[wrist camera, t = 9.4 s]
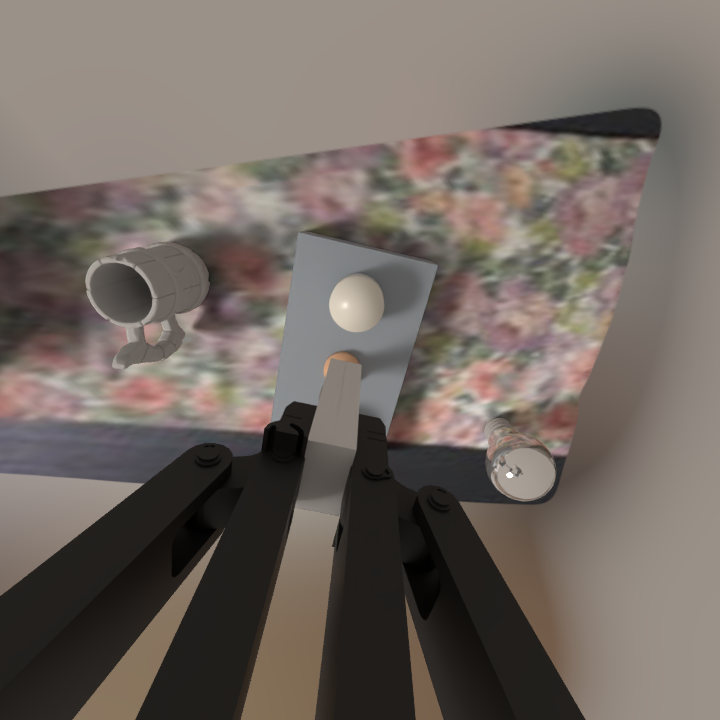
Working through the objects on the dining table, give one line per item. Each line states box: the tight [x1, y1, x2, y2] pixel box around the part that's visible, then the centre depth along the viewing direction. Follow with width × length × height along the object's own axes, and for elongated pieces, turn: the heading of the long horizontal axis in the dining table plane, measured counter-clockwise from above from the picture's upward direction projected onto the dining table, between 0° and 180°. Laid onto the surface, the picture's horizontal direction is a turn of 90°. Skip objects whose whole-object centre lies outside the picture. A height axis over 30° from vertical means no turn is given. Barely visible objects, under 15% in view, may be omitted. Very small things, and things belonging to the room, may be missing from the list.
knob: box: [329, 273, 384, 332], centre depth 36 cm, size 5×5×7 cm
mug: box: [86, 242, 210, 369], centre depth 34 cm, size 8×12×12 cm, turn 176°
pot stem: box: [319, 351, 360, 398], centre depth 35 cm, size 4×4×7 cm
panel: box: [271, 231, 438, 437], centre depth 40 cm, size 14×26×4 cm, turn 167°
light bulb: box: [484, 418, 556, 501], centre depth 40 cm, size 7×7×12 cm
